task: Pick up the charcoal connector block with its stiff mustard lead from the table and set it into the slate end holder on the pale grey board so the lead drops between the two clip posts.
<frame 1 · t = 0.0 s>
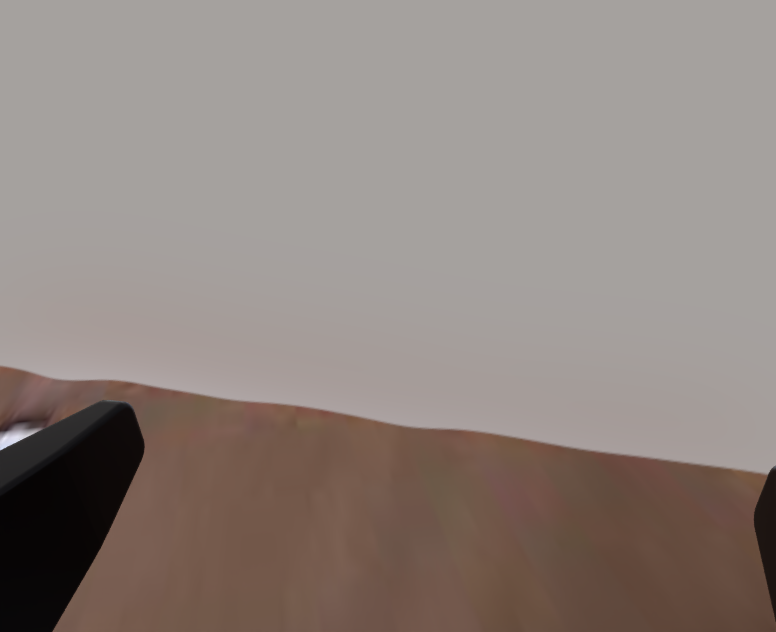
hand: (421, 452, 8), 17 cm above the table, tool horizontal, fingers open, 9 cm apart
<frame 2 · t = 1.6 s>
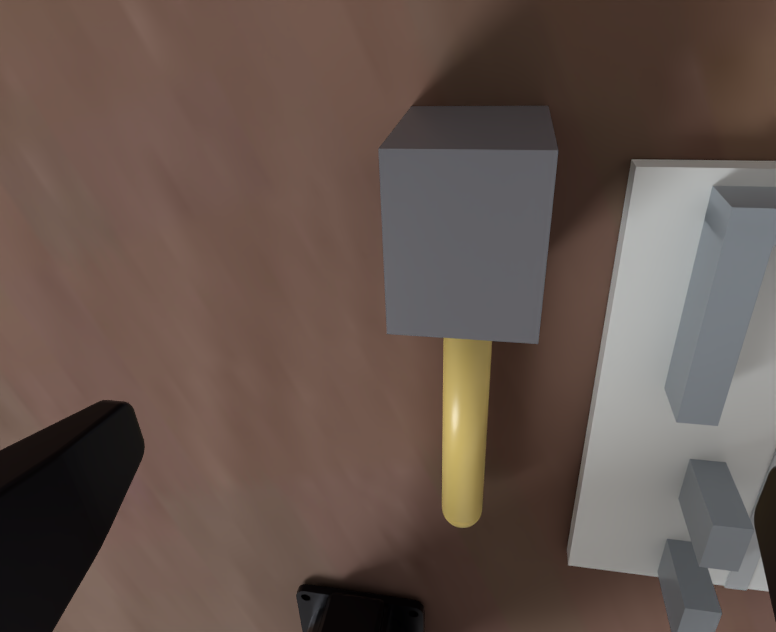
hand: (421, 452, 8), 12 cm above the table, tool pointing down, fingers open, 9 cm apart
plug: (475, 188, 19), on the table
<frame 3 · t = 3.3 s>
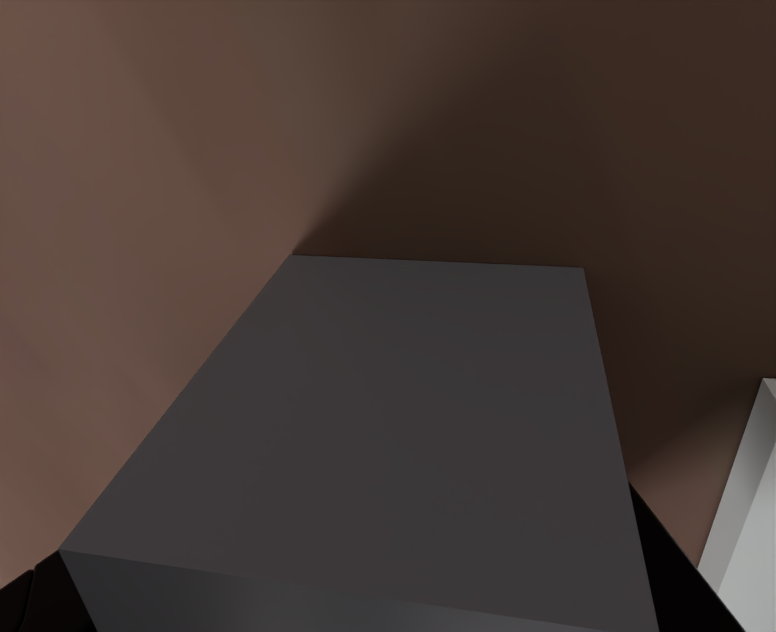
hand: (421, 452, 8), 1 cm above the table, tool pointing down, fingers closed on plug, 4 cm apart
plug: (430, 405, 9), on the table, touching gripper
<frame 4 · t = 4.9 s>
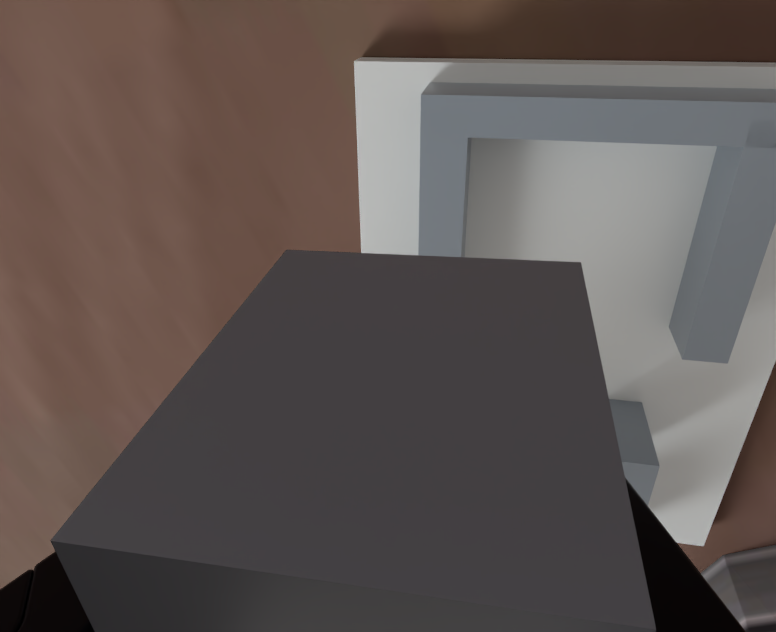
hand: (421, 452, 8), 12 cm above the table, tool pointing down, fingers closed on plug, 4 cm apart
plug: (428, 401, 9), point 10 cm above the table, touching gripper
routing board: (556, 331, 20), on the table
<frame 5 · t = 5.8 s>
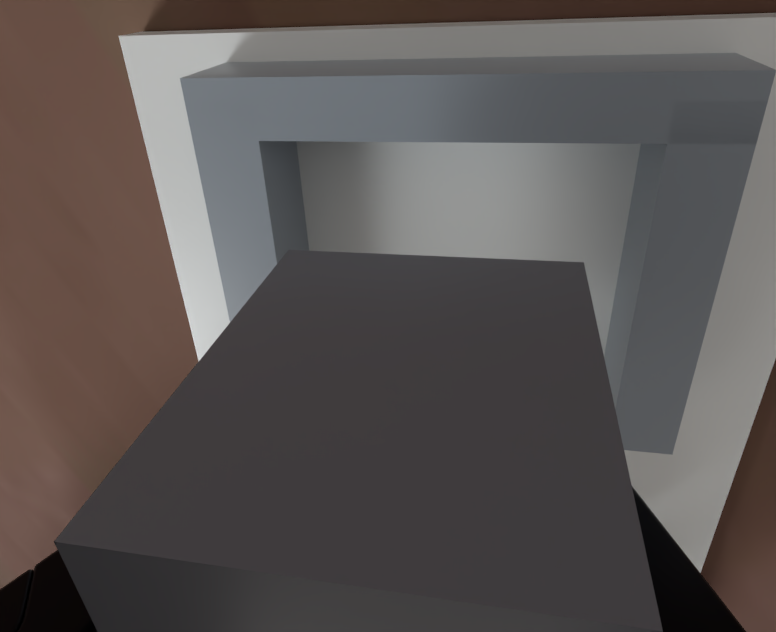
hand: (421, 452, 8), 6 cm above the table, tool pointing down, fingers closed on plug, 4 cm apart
plug: (430, 401, 9), point 5 cm above the table, touching gripper
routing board: (457, 394, 15), on the table
when the fingers open (3 cm above the table, at t = 6.7 s): plug drops 1 cm, resting on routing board.
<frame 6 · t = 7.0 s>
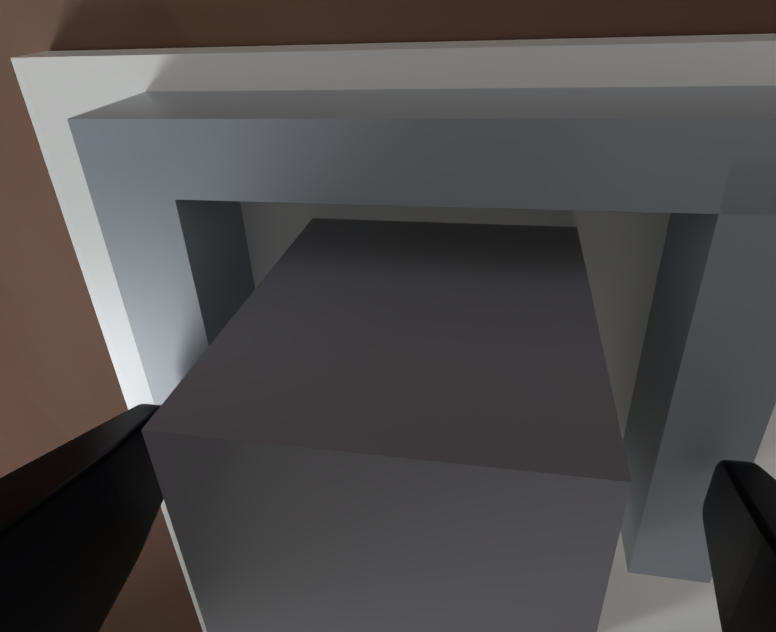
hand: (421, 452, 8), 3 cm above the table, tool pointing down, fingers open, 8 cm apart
plug: (438, 359, 10), point 1 cm above the table, touching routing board
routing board: (444, 476, 13), on the table
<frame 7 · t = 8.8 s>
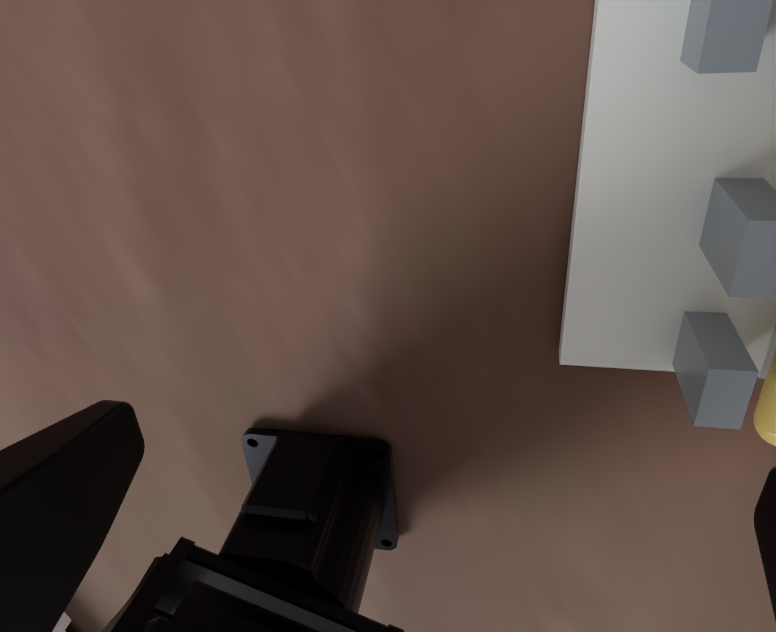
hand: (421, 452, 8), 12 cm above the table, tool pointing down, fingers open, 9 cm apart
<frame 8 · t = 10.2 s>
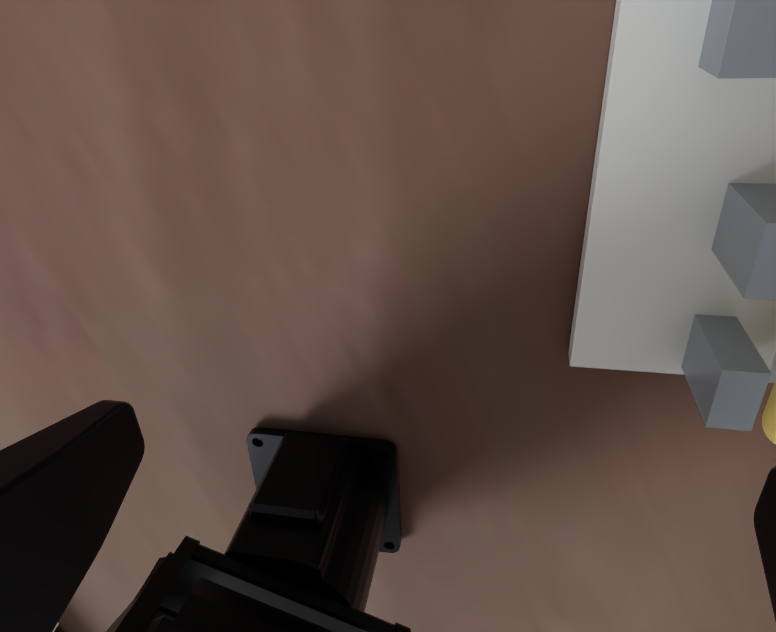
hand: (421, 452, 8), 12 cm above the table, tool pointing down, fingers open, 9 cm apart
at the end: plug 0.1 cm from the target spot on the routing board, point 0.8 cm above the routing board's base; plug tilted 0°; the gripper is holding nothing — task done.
